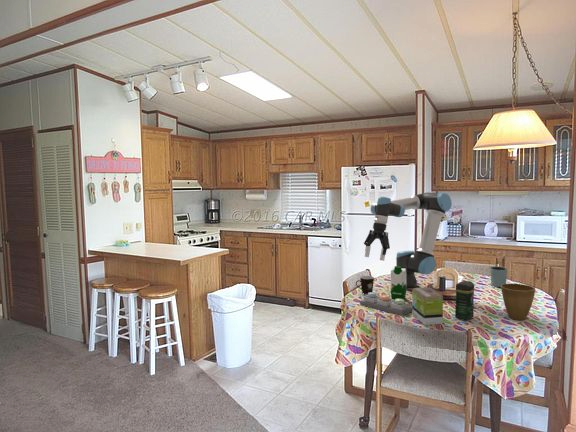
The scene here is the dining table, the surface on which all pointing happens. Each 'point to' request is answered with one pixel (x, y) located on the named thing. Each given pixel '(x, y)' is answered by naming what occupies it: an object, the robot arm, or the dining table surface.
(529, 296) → the plant pot
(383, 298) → the terracotta button
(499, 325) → the dining table surface
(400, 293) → the milk carton
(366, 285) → the coffee mug
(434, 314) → the tea box
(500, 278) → the blue-grey cylindrical pot
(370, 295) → the slate button
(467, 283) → the coffee jar
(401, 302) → the sage button
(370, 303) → the button board
